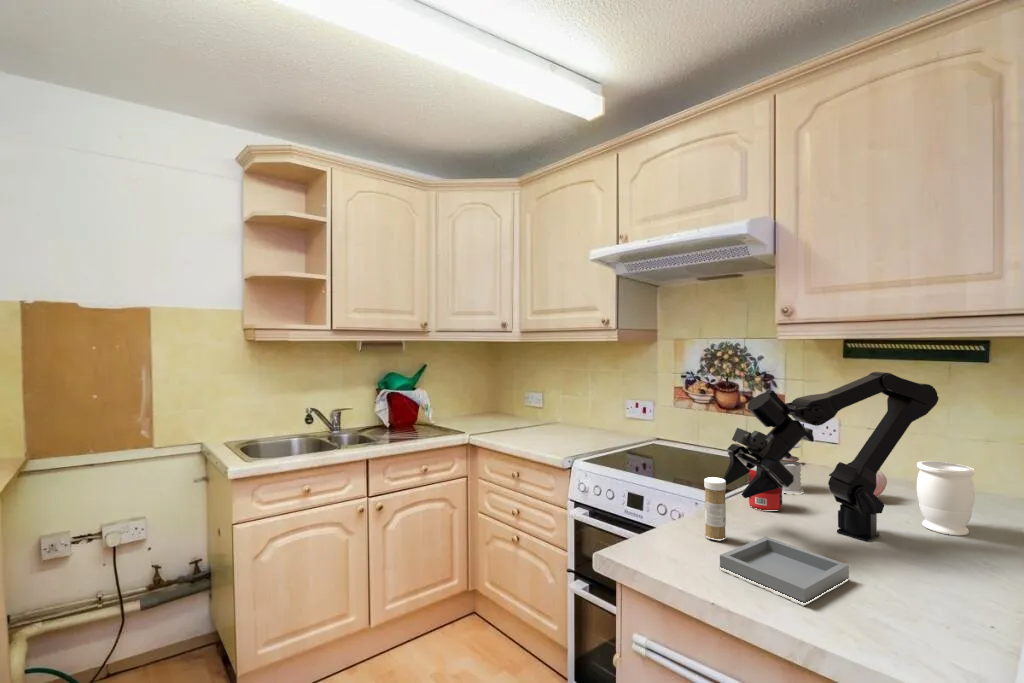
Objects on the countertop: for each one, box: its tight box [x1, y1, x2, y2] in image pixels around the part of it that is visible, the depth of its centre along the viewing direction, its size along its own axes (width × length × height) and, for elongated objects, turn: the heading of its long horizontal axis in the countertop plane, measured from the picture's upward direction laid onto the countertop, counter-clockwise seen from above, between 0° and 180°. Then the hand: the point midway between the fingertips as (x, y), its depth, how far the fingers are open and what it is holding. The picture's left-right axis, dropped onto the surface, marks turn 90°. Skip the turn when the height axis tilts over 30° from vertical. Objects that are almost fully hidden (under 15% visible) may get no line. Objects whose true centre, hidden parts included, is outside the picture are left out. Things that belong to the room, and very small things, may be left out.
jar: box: [916, 460, 976, 536], centre depth 117 cm, size 11×10×15 cm
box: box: [719, 536, 850, 603], centre depth 95 cm, size 16×16×3 cm
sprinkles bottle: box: [703, 476, 727, 539], centre depth 113 cm, size 5×5×14 cm
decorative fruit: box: [873, 468, 888, 497], centre depth 139 cm, size 9×8×10 cm
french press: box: [780, 442, 804, 493], centre depth 149 cm, size 10×12×25 cm
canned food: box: [748, 466, 783, 511], centre depth 133 cm, size 8×8×11 cm
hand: (732, 490), depth 113 cm, fingers open, 9 cm apart
